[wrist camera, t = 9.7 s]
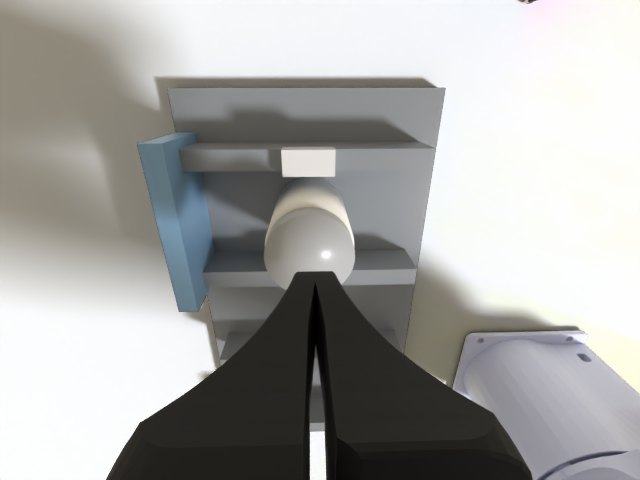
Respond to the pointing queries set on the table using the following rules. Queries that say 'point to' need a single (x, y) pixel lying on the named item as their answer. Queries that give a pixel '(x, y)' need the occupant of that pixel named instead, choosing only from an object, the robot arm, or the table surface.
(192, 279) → the grey slotted rack
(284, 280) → the cream rounded cylinder
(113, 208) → the table surface
